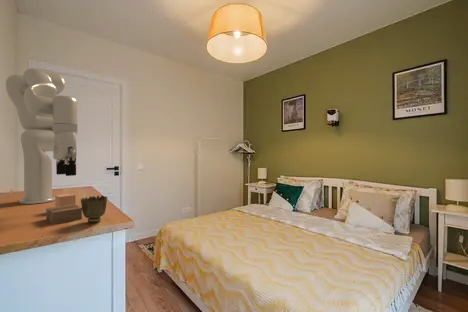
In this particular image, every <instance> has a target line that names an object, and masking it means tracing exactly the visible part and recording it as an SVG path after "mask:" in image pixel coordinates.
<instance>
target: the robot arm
mask: <svg viewBox="0 0 468 312" xmlns="http://www.w3.org/2000/svg"><path fill="white" fill-rule="evenodd" d="M65 85H66V82H65V79H64V78H63V76H62V75H61V74H59V73H57V72H53V71H49V70H44V69H40V68H36V67H35V68H33V67H31V68H27V69H26V70H24V71H23V75H22V74H10V75H8V77H6V80H5V89H6V92H7V96H8V97H9V99H10V100H11V102H12V103H13V105H14V106H15V109H16V112H17V116H18V118H19V119H18V120H19V123H20V126H21V127H22V129H23V130H25V131H23V132H22V133H21V135H20V144H21V148H22V153H23V155H22V156H23V198H21V199H19V201H18V202H19V204H21V205H31V204H32V205H33V204H36V205H37V204H44V203H49V202H53V201H55V195H53V162H52V159H51V158H50V156H49V155H48V154H47V152H52V153H53V155H52V156H53V157H52V158H53V159H54V160H56V162H55V163H56V166H55V167H56V169H55V170H56V175H65V176H67V177H69V176H70V177H71V176H76V175H77V154H78V153H77V152H78V151H77V147H78V146H77V137H76V135H78V101H77V99H76V98H75V97H73V96H69V95H60V94H61V93H62V92H63V91H64V90H65V87H66V86H65Z"/></svg>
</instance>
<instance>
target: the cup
mask: <svg viewBox="0 0 468 312" xmlns="http://www.w3.org/2000/svg"><path fill="white" fill-rule="evenodd" d="M107 201H108V196H104V195H101V196H99V195H96V196H95V195H93V196H91V195H90V196H89V197H87V196H86V197H85V198H84V197H82V198H80V204H81V206H80V207H81V208H82V216H84V217H85V218H87V222H88V223H89V224H98V223H99V222H101V220H102V217H103V216H104V214H105V213H106V210H107Z"/></svg>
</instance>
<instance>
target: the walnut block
mask: <svg viewBox="0 0 468 312" xmlns="http://www.w3.org/2000/svg"><path fill="white" fill-rule="evenodd" d="M45 209H46V210H45V211H46V212H45V213H46V214H45V216H46V217H45V219H46V220H47V221H48V222H49V223H50V224H52V225H57V224H64V223H68V222H73V221H78V220H82V219H83V212H82V206H78V205H76V203H75V204H72V205H65V206H58V207H55V206H53V207H52V206H51V207H46V208H45Z"/></svg>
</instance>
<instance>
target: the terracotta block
mask: <svg viewBox="0 0 468 312" xmlns="http://www.w3.org/2000/svg"><path fill="white" fill-rule="evenodd" d="M54 196H55V200H54V201H55V203H54V204H55V205H54V207H58V206H65V205H72V204H75V205H76V194H73V193H62V194H55V195H54Z"/></svg>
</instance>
